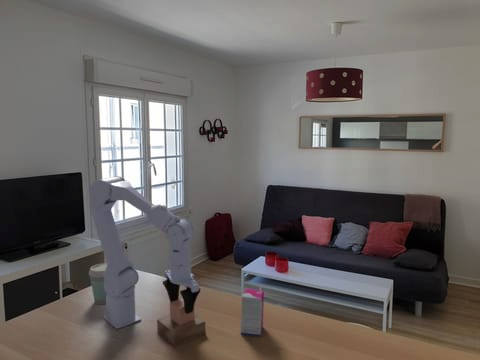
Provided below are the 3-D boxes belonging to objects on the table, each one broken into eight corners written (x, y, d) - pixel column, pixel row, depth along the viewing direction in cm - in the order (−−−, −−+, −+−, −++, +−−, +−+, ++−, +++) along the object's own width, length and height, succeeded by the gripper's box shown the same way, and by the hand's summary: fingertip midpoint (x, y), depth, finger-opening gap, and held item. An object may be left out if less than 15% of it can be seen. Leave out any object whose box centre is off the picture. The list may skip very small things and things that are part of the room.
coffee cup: (106, 293, 136) (105, 261, 134) (122, 299, 131) (120, 266, 129) (85, 302, 129) (83, 268, 127) (100, 309, 124) (98, 273, 122)
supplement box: (261, 337, 108) (261, 298, 106) (240, 334, 109) (240, 296, 107) (263, 326, 113) (264, 289, 112) (244, 324, 114) (244, 288, 113)
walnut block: (157, 332, 111) (157, 319, 110) (186, 321, 117) (186, 308, 117) (175, 347, 103) (174, 333, 103) (205, 334, 110) (205, 321, 109)
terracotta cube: (170, 318, 111) (169, 302, 110) (184, 313, 114) (184, 297, 113) (179, 325, 107) (179, 308, 106) (194, 319, 110) (194, 303, 110)
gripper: (207, 265, 106) (207, 312, 108) (178, 253, 116) (179, 295, 118) (186, 272, 101) (187, 320, 103) (157, 258, 112) (159, 302, 113)
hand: (181, 307), depth 110 cm, fingers open, 7 cm apart
